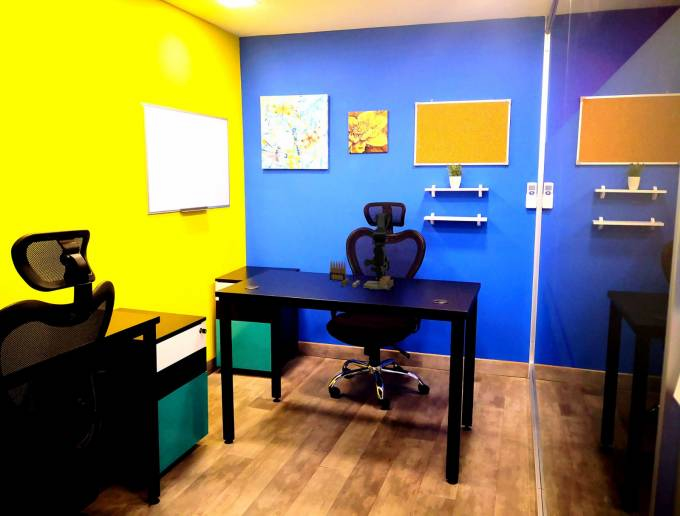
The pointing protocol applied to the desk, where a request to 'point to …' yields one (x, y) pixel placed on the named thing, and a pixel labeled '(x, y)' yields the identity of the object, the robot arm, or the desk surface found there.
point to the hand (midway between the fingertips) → (379, 281)
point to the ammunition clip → (337, 271)
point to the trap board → (369, 284)
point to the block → (384, 280)
